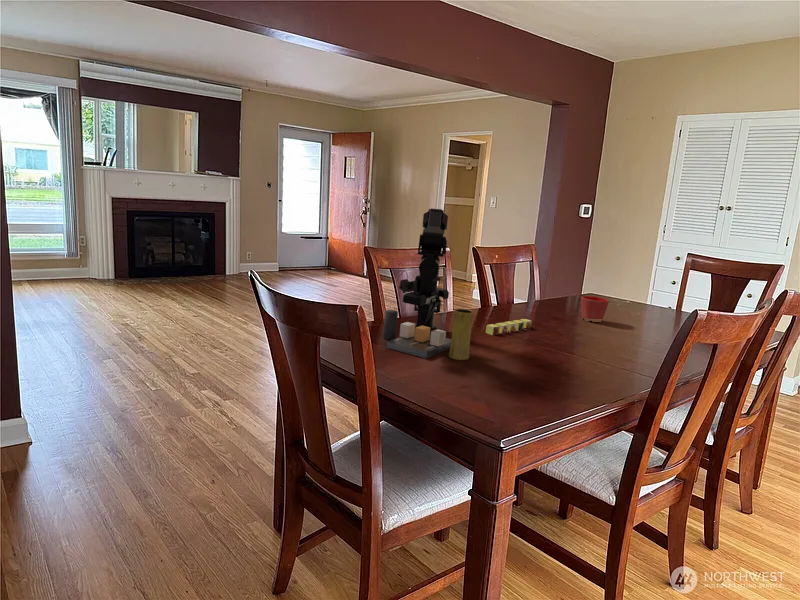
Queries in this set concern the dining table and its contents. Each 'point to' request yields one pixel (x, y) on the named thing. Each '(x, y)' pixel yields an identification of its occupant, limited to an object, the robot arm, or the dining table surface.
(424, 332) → the toggle mid
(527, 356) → the dining table surface
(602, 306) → the flower pot
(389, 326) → the cable post
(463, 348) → the vase
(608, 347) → the dining table surface
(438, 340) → the toggle right
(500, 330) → the yellow picture block train
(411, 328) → the toggle left
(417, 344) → the breaker panel
